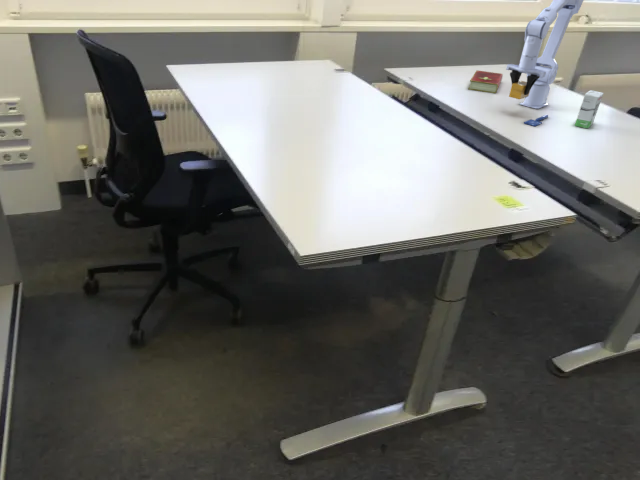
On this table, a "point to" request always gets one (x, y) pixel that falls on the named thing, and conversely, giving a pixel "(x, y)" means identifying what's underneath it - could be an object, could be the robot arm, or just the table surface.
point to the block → (518, 90)
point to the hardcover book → (485, 81)
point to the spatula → (535, 121)
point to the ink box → (588, 109)
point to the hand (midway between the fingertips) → (519, 92)
